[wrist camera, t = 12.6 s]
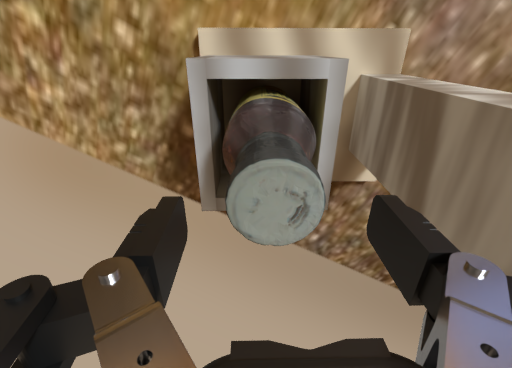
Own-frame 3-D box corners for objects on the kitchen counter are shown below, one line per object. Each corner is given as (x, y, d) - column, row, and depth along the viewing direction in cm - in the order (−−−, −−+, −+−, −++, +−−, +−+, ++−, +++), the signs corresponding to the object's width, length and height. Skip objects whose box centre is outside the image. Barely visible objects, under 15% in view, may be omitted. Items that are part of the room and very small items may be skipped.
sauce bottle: (305, 121, 29) (391, 232, 11) (257, 153, 30) (266, 296, 12) (270, 67, 26) (311, 97, 9) (221, 105, 28) (168, 197, 10)
